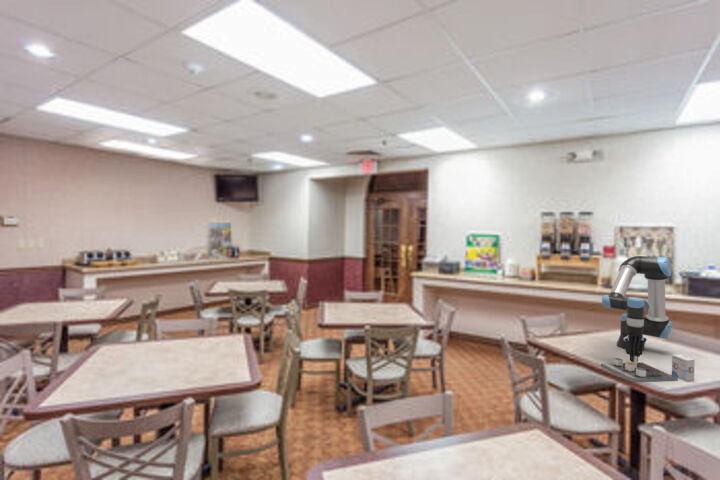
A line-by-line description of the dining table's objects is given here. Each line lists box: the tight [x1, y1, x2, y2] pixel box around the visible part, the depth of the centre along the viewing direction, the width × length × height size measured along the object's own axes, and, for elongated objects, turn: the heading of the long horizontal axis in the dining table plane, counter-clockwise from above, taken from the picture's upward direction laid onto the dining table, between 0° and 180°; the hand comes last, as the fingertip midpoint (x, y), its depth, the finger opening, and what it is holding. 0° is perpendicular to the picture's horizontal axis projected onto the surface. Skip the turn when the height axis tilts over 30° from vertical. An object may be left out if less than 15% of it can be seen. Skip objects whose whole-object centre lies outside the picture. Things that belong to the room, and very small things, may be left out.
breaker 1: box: [613, 357, 624, 366], centre depth 206 cm, size 3×3×4 cm
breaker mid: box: [624, 362, 635, 371], centre depth 199 cm, size 3×3×4 cm
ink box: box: [671, 353, 695, 382], centre depth 193 cm, size 9×5×12 cm, turn 5°
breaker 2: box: [636, 368, 646, 377], centre depth 191 cm, size 3×3×4 cm
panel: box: [600, 362, 679, 383], centre depth 199 cm, size 26×22×2 cm
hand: (633, 367), depth 199 cm, fingers closed
